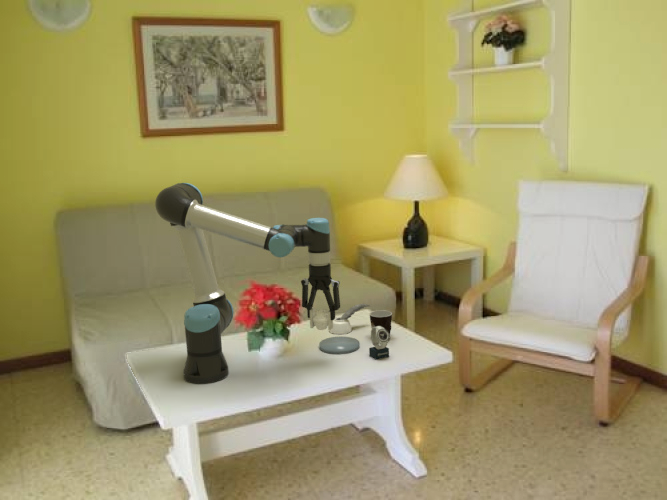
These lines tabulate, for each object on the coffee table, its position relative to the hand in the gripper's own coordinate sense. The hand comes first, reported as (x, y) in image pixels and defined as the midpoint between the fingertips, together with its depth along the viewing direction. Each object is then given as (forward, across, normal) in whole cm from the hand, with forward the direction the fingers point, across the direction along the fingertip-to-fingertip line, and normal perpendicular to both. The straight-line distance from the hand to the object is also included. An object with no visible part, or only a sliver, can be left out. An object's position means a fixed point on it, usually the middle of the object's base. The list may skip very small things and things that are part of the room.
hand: (321, 327), depth 243 cm
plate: (+12, -1, -15) cm, 20 cm away
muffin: (0, 0, 0) cm, 0 cm away
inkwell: (+13, +2, -36) cm, 38 cm away
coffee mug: (+12, -13, -27) cm, 32 cm away
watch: (+13, -18, -10) cm, 24 cm away
